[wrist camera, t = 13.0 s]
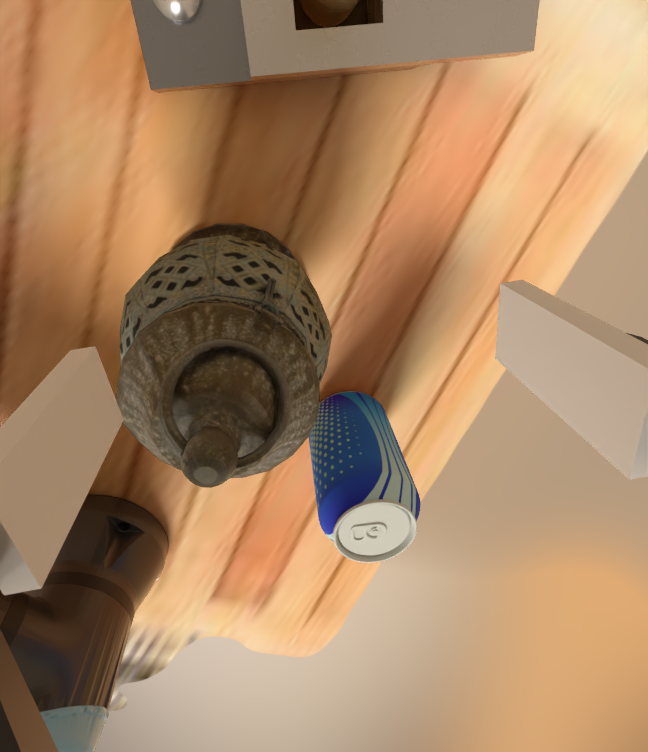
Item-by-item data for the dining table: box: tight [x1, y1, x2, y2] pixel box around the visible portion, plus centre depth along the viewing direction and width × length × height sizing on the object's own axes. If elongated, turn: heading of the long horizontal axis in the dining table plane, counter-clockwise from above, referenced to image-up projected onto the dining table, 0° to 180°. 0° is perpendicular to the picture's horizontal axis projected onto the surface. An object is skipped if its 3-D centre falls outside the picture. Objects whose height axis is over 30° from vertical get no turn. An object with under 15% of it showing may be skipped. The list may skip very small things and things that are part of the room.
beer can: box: [309, 391, 420, 563], centre depth 42 cm, size 8×8×16 cm
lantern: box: [117, 224, 332, 487], centre depth 30 cm, size 14×14×25 cm
